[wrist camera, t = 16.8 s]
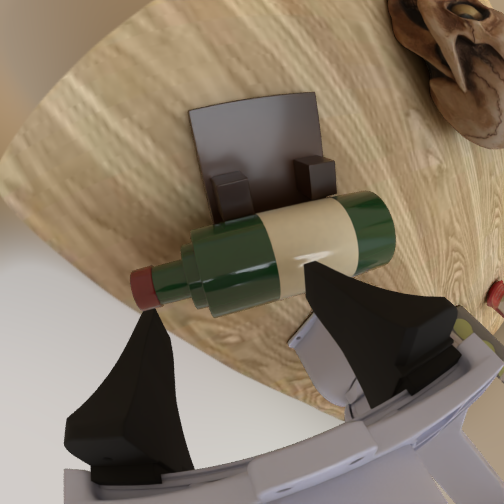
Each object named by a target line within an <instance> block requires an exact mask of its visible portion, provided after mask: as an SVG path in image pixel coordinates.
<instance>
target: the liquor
mask: <svg viewBox="0 0 504 504" xmlns="http://www.w3.org/2000/svg"><path fill="white" fill-rule="evenodd" d="M487 306H490V307H492V308H493V309H494V310H496V311H497V312H498V313H499V314H500V315H501V316H502V317H503V318H504V283H503V281H502V280H501V281H498V282H495V283H494V284H493V285H492V287H491V288H490V290H489V292H488V294H487Z"/></svg>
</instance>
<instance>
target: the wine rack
mask: <svg viewBox="0 0 504 504" xmlns="http://www.w3.org/2000/svg"><path fill="white" fill-rule="evenodd" d="M188 116H189V121H190V126H191V131H192V135H193V140H194V144H195V149H196V153H197V158H198V162H199V166H200V171H201V175H202V179H203V184H204V188H205V192H206V196H207V200H208V205H209V209H210V213H211V217H212V221H213V224H216V223H220V222H224V221H228V220H232V219H236V218H241V217H245V216H249V215H253V214H256V213H259V212H264V211H268V210H272V209H277V208H281V207H286V206H290V205H294V204H299V203H304V202H308V201H313V200H318V199H322V198H326V196H329V195H334V194H337V187H336V172H335V161H334V160H331V159H328V158H325V157H323V151H322V141H321V133H320V124H319V116H318V109H317V102H316V95H315V92H304V93H292V94H282V95H273V96H265V97H257V98H250V99H244V100H238V101H232V102H226V103H221V104H216V105H211V106H206V107H202V108H197V109H193V110H189V111H188Z"/></svg>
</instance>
